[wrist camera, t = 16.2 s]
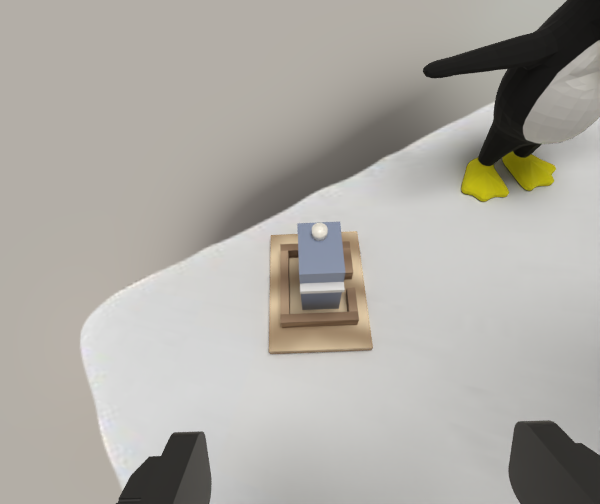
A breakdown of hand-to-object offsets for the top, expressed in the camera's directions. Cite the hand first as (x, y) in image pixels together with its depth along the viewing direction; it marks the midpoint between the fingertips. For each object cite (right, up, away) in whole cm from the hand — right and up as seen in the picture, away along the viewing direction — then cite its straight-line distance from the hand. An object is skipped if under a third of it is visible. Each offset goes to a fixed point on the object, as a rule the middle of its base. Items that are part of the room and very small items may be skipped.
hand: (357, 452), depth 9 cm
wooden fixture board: (+1, 0, +35) cm, 35 cm away
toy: (+30, +17, +44) cm, 56 cm away
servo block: (+1, +1, +34) cm, 34 cm away
